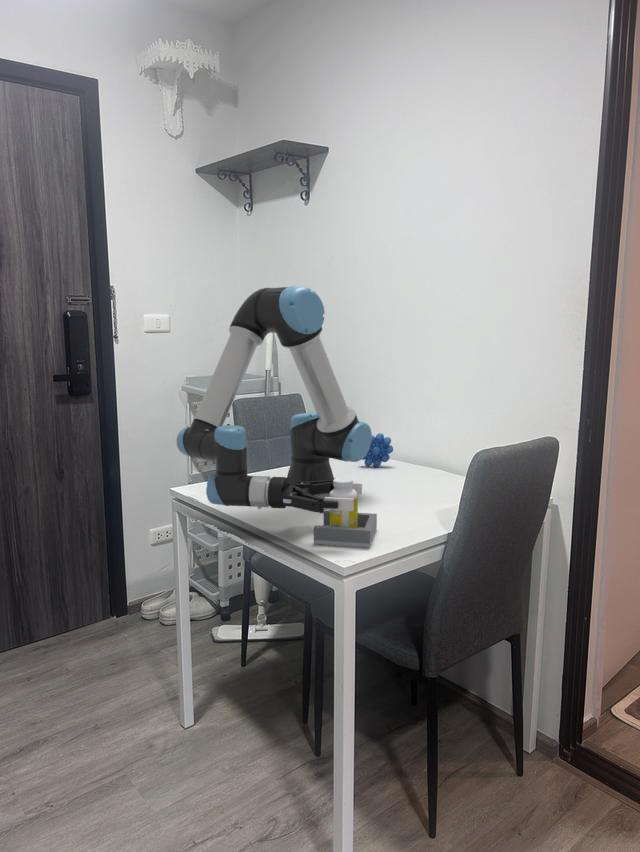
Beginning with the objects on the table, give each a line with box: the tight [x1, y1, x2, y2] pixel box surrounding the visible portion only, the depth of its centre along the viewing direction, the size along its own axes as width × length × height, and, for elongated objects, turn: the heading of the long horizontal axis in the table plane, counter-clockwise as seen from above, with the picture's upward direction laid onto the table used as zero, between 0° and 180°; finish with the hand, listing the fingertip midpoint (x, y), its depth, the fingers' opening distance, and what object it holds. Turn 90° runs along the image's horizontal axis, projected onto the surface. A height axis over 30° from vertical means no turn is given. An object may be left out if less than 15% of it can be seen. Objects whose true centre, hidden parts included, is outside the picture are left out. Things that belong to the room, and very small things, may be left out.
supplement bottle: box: [328, 477, 359, 528], centre depth 152 cm, size 7×7×13 cm
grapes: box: [360, 432, 394, 468], centre depth 223 cm, size 12×7×12 cm, turn 84°
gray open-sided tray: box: [313, 510, 378, 549], centre depth 153 cm, size 13×13×4 cm
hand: (358, 496), depth 151 cm, fingers open, 13 cm apart
